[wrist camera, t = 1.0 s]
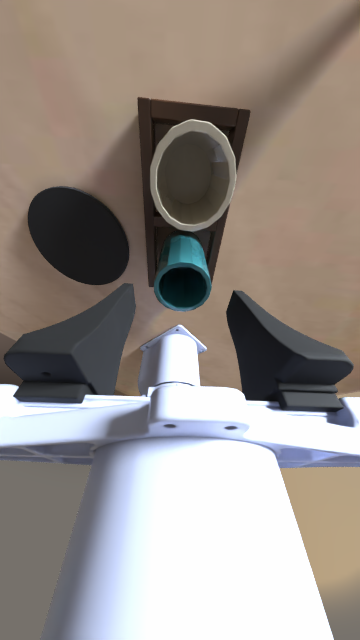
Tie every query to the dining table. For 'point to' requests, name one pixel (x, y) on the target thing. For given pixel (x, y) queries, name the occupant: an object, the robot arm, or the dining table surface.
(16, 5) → the dining table surface
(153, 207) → the holder
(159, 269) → the teal cup
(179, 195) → the cream cup
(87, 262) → the coaster
